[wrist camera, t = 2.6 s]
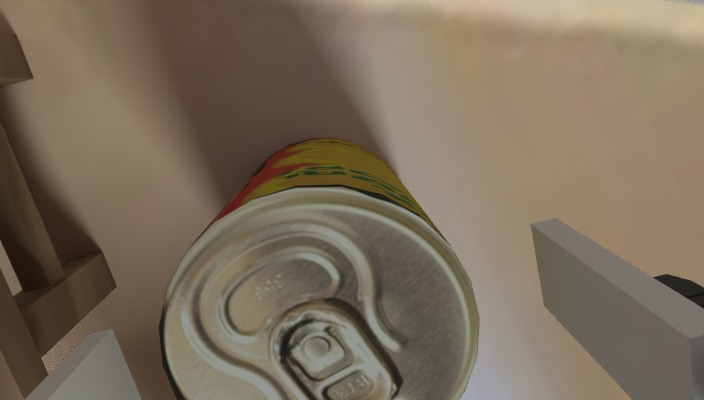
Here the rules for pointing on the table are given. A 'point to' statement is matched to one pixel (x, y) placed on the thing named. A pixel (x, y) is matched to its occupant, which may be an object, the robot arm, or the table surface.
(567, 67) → the table surface
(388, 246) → the beverage can
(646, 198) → the table surface
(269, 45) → the table surface
